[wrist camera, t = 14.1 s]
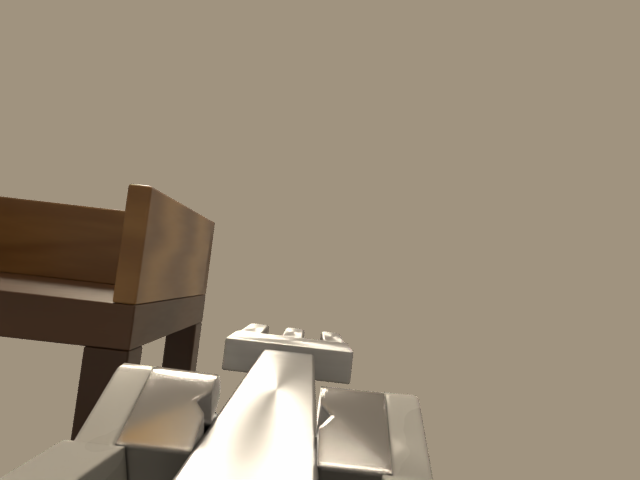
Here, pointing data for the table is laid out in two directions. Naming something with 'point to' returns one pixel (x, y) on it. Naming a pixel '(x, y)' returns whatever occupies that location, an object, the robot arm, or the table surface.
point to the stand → (105, 281)
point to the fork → (269, 407)
